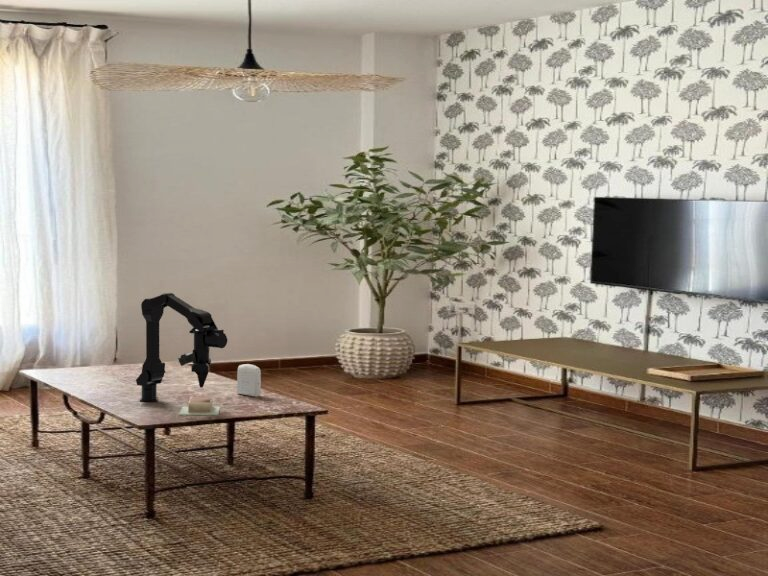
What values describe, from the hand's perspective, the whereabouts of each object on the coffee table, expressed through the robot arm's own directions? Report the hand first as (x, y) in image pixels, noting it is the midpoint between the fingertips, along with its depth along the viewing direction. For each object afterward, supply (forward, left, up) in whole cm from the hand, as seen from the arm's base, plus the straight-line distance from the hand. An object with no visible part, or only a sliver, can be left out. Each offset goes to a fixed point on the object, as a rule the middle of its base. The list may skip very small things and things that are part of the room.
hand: (201, 387), depth 430 cm
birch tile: (-3, 0, -6) cm, 7 cm away
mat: (+5, 0, -8) cm, 9 cm away
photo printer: (-29, +17, -8) cm, 34 cm away
